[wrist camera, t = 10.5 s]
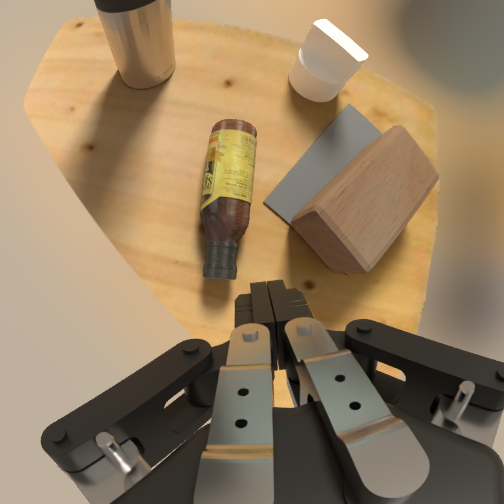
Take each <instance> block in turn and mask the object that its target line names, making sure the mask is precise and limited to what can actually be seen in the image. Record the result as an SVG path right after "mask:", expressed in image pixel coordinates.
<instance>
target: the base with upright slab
mask: <svg viewBox="0 0 504 504" xmlns="http://www.w3.org/2000/svg"><path fill="white" fill-rule="evenodd" d="M368 56H369V55H368V54H367V53H366V52H364V50H362V49H361V48H360V47H359V46H358V45H357V44H356V43H354V42H353V41H352V40H351V39H350V38H349V37H348V36H346V35H345V34H344V33H343V32H341V31H340V30H339V29H338V28H337V27H335V26H334V25H333V24H331V23H330V22H329V21H327V20H326V19H321V20H317V21H316V22H314V23H313V25H312V27H311V29H310V31H309V33H308V35H307V37H306V39H305V41H304V43H303V45H302V47H301V49H300V51H299V53H298V55H297V57H296V59H295V61H294V63H293V65H292V67H291V69H290V71H289V81H290V83H291V85H292V87H293V88H294V89H295V91H296V92H297V93H299V94H300V95H301V96H303V97H305V98H307V99H308V100H311V101H315V102H328V101H330V100H332V99H333V98H334V97H335V96H336V95H337V94H338V93H339V91H340V90H341V89H342V88H343V87H344V85H345V84H346V83H347V82H348V80H349V79H350V78H351V77H352V76H353V74H354V73H355V72H356V71H357V70H358V68H359V67H360V66H361V65H362V64H363V62H364V61H365V60H366V59H367V58H368Z"/></svg>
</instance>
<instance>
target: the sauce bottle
mask: <svg viewBox="0 0 504 504" xmlns="http://www.w3.org/2000/svg"><path fill="white" fill-rule="evenodd" d="M256 136H257V131H256V129H255V127H254V126H252V124H250V123H248V122H245V121H243V120H237V119H225V120H221V121H219V122H217V123H216V124H215V125H214V126H213V128H212V134H211V135H210V139H209V146H208V153H207V160H206V167H205V175H204V181H203V190H202V199H201V208H200V214H201V218H202V222H203V227H204V232H205V236H206V241H207V252H206V263H205V265H204V269H203V270H204V271H203V276H204V277H207V278H214V279H227V280H235V279H236V274H237V266H236V256H237V249H238V244H237V242H238V241H239V239H240V238H241V236H242V235H243V234H244V233H245V231H246V229H247V227H248V224H249V219H250V218H249V213H250V205H251V202H252V191H253V179H254V168H255V157H256V145H257V140H256Z"/></svg>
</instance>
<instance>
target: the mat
mask: <svg viewBox="0 0 504 504" xmlns="http://www.w3.org/2000/svg"><path fill="white" fill-rule="evenodd" d="M381 135H382V133H381V132H380V131H379V130H378V129H377V128H376V127H375V126H374V125H373V124H372V123H371V122H369V121H368V120H367V119H366V118H365V117H364V116H363V115H362V114H361V113H360V112H359V111H357V110H356V109H355V108H354V107H353V106H352V105H351V104H348V105H347V106H346V107H345V109H344V110H343V111H342V112H341V113H340V114H339V115H338V116H337V118H336V119H335V120H334V121H333V122H332V123H331V124H330V125H329V127H328V128H327V129H326V130H325V131H324V132H323V133H322V135H321V136H320V137H319V138H318V139H317V140H316V141H315V143H314V144H313V145H312V146H311V147H310V148H309V149H308V151H307V152H306V153H305V154H304V155H303V156H302V157H301V159H300V160H299V161H298V162H297V163H296V164H295V166H294V167H293V168H292V169H291V170H290V171H289V173H288V174H287V175H286V176H285V177H284V178H283V180H282V181H281V182H280V183H279V184H278V185H277V187H276V188H275V189H274V190H273V191H272V193H271V194H270V195H269V196H268V197H267V198H266V200H265V201H264V203H265V204H266V205H268V206H269V207H270V208H271V209H272V210H273V211H275V212H276V213H277V214H278V215H279V216H281V217H282V218H283V219H284V220H285V221H286V222H288V223H289V224H290V225H291V226H292V224H291V220H292V218H293V216H294V215H295V214H296V213H297V212H298V211H300V210H301V209H302V208H303V207H304V206H305V205H306V204H307V203H308V202H309V201H310V200H311V199H312V198H313V197H314V196H315V195H316V194H317V193H318V192H319V191H320V190H321V189H322V188H323V187H324V186H326V185H327V184H328V183H329V182H330V181H331V180H332V179H333V178H334V177H335V176H336V175H337V174H338V173H339V172H340V171H341V170H342V169H343V168H344V167H345V166H346V165H347V164H348V163H349V162H350V161H351V160H352V159H354V158H355V157H356V156H357V155H358V154H359V153H360V152H361V151H362V150H363V149H364V148H365V147H366V146H367V145H368V144H370V143H371V142H373V141H374V140H375V139H377V138H378V137H380V136H381ZM345 274H346V275H348V273H345Z"/></svg>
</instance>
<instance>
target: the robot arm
mask: <svg viewBox="0 0 504 504" xmlns="http://www.w3.org/2000/svg"><path fill="white" fill-rule="evenodd" d="M94 1H95V4H96V7H97V11H98V14H99V17H100V20H101V22H102V25H103V28H104V31H105V34H106V37H107V40H108V43H109V46H110V48H111V51H112V54H113V57H114V59H115V62H116V65H117V67H118V70H119V72H120V75H121V78H122V80H123V82H124V83H125V84H126V85H128V86H129V87H132V88H136V89H146V88H151V87H154V86H157V85H159V84H161V83H162V82H164V81H165V80H167V79H168V78H169V77H170V76H171V74H172V73H173V71H174V69H175V53H174V40H173V27H172V13H171V0H94ZM250 288H251V294H241V295H239V296H238V297H237V298H236V300H235V329H234V330H233V331H232V333H231V336H230V340H229V341H227V342H225V343H223V344H221V345H218V346H214V347H211V346H210V344H209V343H208V342H207V341H205V340H202V339H189V340H185V341H183V342H181V343H179V344H177V345H176V346H174V347H172V348H171V349H170V350H168V351H167V352H165V353H164V354H162V355H161V356H159V357H157V358H156V359H154V360H153V361H151V362H150V363H148V364H147V365H145V366H144V367H142V368H141V369H139V370H138V371H136V372H135V373H133V374H132V375H130V376H128V377H127V378H125V379H124V380H122V381H121V382H119V383H117V384H116V385H114V386H113V387H111V388H109V389H108V390H106V391H105V392H103V393H102V394H100V395H98V396H97V397H95V398H94V399H92V400H90V401H89V402H87V403H85V404H84V405H82V406H81V407H79V408H77V409H76V410H74V411H72V412H71V413H69V414H68V415H66V416H64V417H62V418H61V419H59V420H57V421H56V422H54V423H52V424H51V425H49V426H48V427H47V428H46V429H45V430H44V432H43V434H42V436H41V445H42V448H43V449H44V451H45V452H46V453H47V454H48V455H49V456H50V457H51V458H52V459H53V460H54V461H55V462H56V464H57V465H58V467H59V468H60V469H61V470H62V471H63V472H64V473H65V474H66V475H67V476H68V477H69V478H70V479H71V480H73V481H74V483H75V484H76V485H77V487H78V488H79V489H80V491H81V492H82V493H83V495H84V496H85V497H86V499H87V500H88V501H89V503H90V504H504V465H503V463H502V460H501V458H500V457H499V455H498V454H497V453H496V452H495V451H494V450H493V449H492V446H493V442H494V439H495V436H496V433H497V429H498V426H499V422H500V418H501V415H502V412H503V411H504V363H503V362H500V361H496V360H493V359H489V358H486V357H483V356H480V355H477V354H473V353H470V352H466V351H464V350H460V349H457V348H454V347H451V346H448V345H445V344H442V343H439V342H436V341H432V340H430V339H426V338H423V337H420V336H417V335H414V334H411V333H408V332H405V331H402V330H399V329H396V328H393V327H390V326H387V325H385V324H382V323H379V322H376V321H373V320H368V319H358V320H354V321H352V322H350V323H349V324H348V325H347V326H346V329H345V331H331V330H326V329H325V328H324V326H323V325H322V323H321V322H320V321H318V320H316V319H314V318H313V316H312V314H311V312H310V310H309V307H308V305H307V303H306V301H305V299H304V296H303V294H302V293H301V292H300V291H298V290H297V289H286V287H285V285H284V282H283V280H274V281H267V285H266V281H265V282H256V283H250ZM277 360H278V365H279V370H283V369H286V373H287V385H288V388H289V391H290V394H291V398H292V401H293V404H294V407H295V408H279V407H274V386H273V381H274V378H275V376H274V371H276V370H278V366H277ZM378 361H379V362H382V363H384V364H387V365H389V366H392V367H394V368H397V369H399V370H401V371H402V372H403V373H404V374H405V376H406V381H402V380H400V379H397V378H395V377H392V376H390V375H387V374H385V373H382V372H380V371H378V370H376V367H377V362H378ZM182 389H184V391H185V393H184V394H182V395H181V396H180V397H178V398H177V399H176V400H175V401H173V402H172V403H171V404H169V405H168V406H167V407H166V408H164V406H165V404H166V402H167V401H168V400H169V399H171V398H172V397H173V396H174V395H176V394H177V393H178V392H180V391H181V390H182ZM211 417H212V419H211V423H209V424H207V425H205V426H204V427H202V428H200V427H201V426H202V425H204V424H205V423H206V422H207V421H208V420H209V419H210V418H211ZM199 428H200V429H199ZM198 429H199V430H198ZM194 432H195V433H194ZM186 439H187V440H186ZM185 440H186V441H185ZM184 441H185V442H184ZM183 442H184V443H183ZM180 444H182V445H180ZM179 445H180V446H179ZM178 446H179V447H178ZM177 447H178V448H177ZM176 448H177V449H176ZM174 449H176V450H175V451H174V452H172V451H173V450H174ZM171 452H172V453H171ZM169 453H171V454H170V455H169V456H168V457H167V458H166V459H164V460H163V461H162V462H161V463H160V464H159V465H157V466H156V467H155V468H154V469H153V470H152V471H151V468H152V467H153V466H155V465H156V464H157V463H158V462H159V461H161V460H162V459H163V458H165V457H166V456H167V455H168V454H169Z"/></svg>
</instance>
